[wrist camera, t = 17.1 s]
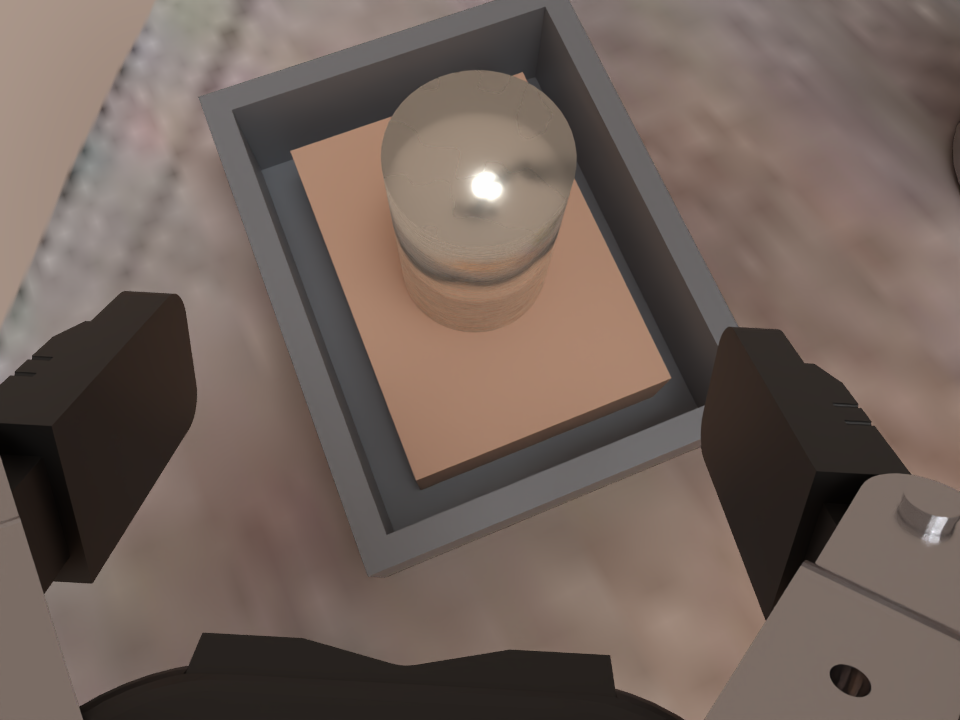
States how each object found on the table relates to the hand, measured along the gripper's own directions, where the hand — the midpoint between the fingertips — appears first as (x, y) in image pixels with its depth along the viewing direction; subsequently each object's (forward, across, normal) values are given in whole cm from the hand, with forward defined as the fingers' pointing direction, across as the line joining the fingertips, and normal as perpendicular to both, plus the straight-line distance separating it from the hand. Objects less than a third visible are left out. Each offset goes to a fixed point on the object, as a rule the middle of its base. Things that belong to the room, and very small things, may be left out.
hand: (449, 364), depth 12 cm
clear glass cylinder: (+17, 0, +5) cm, 18 cm away
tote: (+20, 0, +8) cm, 22 cm away
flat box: (+20, 0, +7) cm, 21 cm away
